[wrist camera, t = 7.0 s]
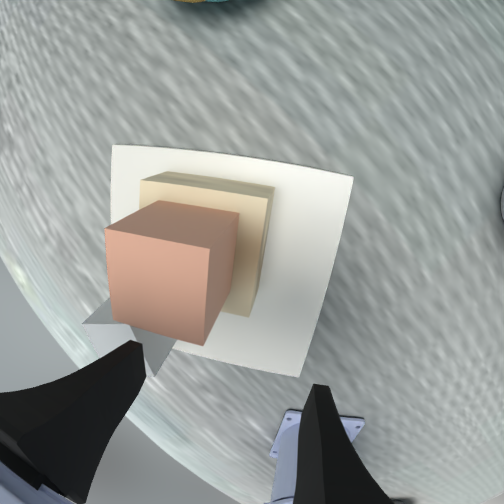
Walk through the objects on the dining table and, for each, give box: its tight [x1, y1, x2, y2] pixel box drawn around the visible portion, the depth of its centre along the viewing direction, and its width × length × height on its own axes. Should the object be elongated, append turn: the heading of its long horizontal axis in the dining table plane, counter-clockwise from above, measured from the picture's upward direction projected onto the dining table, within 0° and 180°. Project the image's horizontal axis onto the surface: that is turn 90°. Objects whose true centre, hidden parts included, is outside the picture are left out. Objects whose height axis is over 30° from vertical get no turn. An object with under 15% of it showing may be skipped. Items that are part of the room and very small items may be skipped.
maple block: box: [139, 171, 275, 318], centre depth 18 cm, size 7×7×4 cm
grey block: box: [82, 298, 177, 377], centre depth 21 cm, size 4×4×5 cm
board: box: [111, 144, 354, 377], centre depth 21 cm, size 16×16×1 cm
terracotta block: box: [105, 200, 239, 346], centre depth 14 cm, size 4×4×5 cm
